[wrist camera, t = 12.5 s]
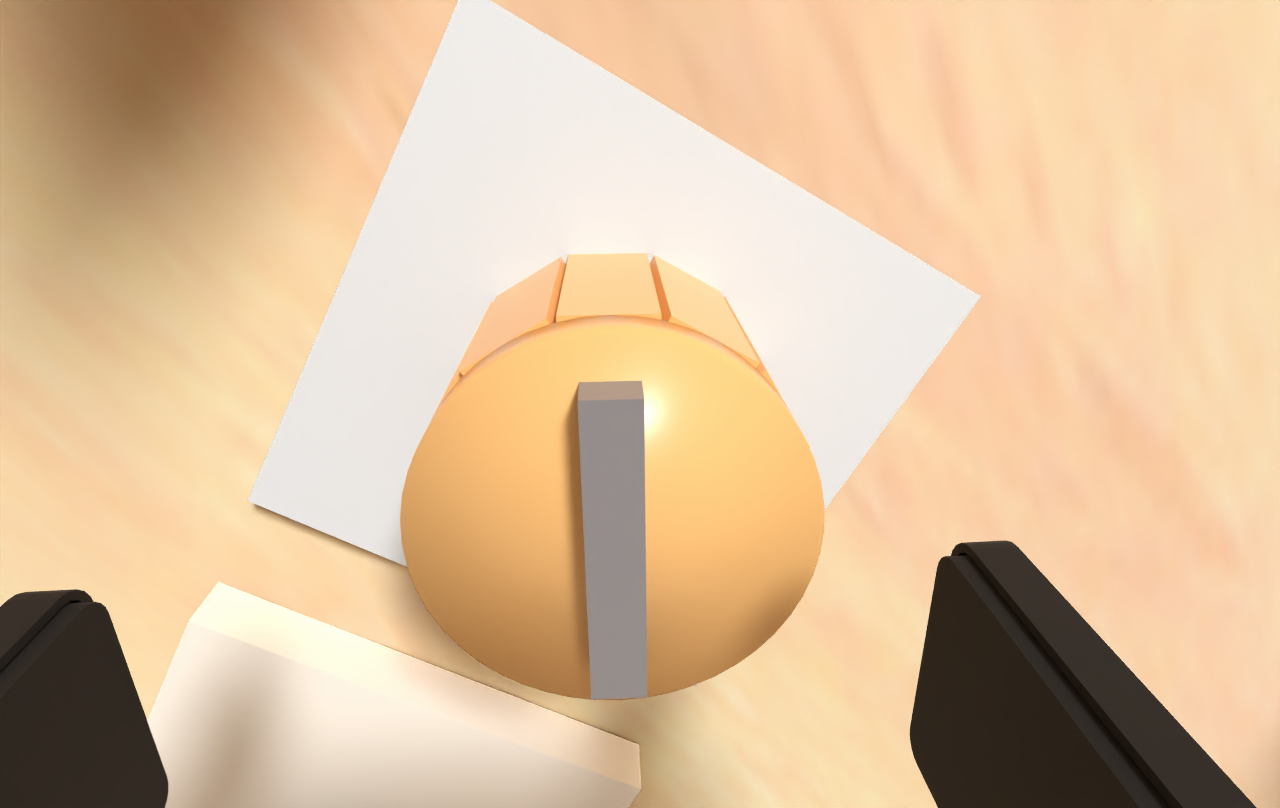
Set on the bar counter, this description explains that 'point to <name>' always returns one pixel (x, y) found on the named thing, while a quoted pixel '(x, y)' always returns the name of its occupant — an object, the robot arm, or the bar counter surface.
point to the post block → (359, 725)
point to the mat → (581, 224)
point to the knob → (611, 486)
